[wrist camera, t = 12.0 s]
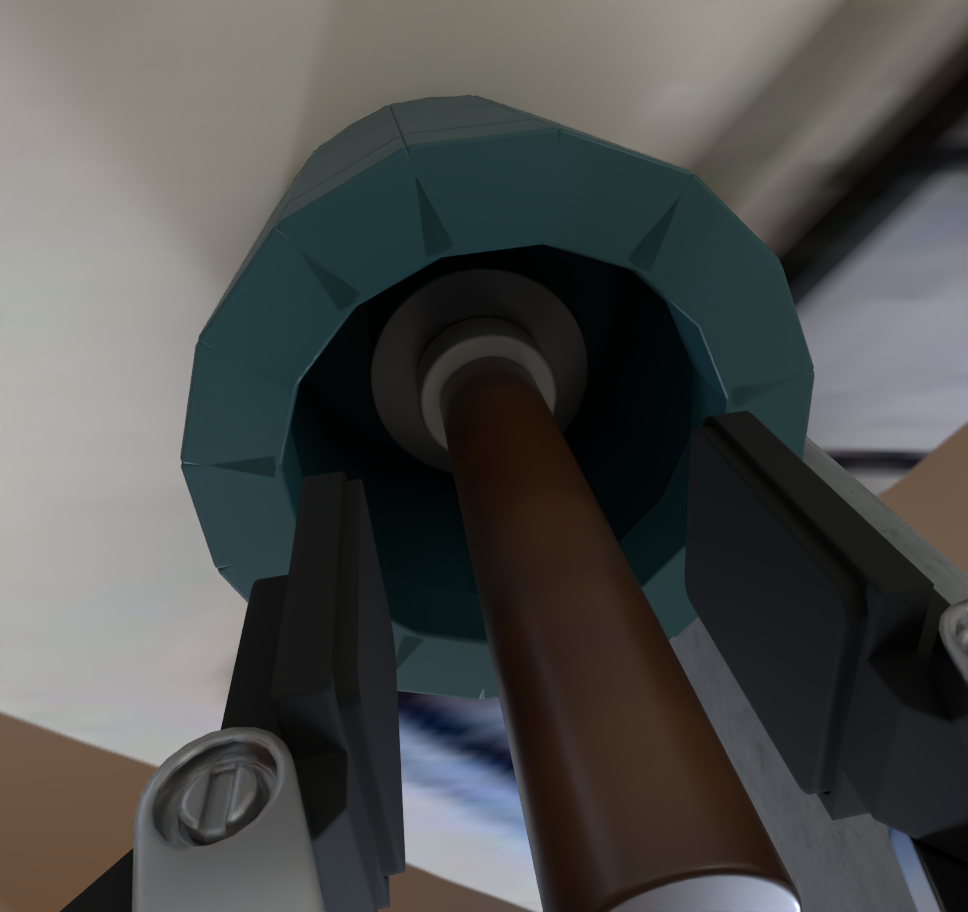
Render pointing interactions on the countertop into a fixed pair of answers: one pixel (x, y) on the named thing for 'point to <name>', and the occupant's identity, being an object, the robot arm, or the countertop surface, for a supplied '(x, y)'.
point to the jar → (579, 280)
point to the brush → (564, 604)
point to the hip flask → (771, 787)
